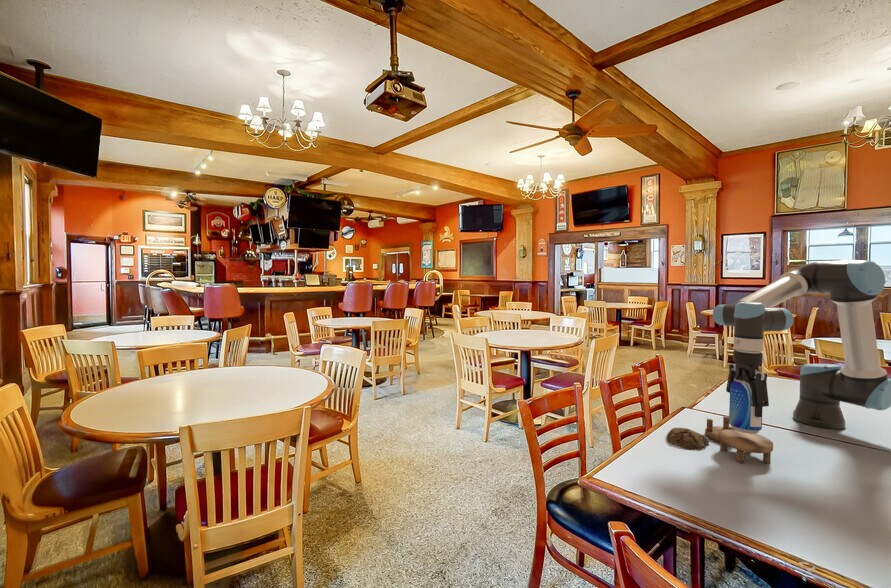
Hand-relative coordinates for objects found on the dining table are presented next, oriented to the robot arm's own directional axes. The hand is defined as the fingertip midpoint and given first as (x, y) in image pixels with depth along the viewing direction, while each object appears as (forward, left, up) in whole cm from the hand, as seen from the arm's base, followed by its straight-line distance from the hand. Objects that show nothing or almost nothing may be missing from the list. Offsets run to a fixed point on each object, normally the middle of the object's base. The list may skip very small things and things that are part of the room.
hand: (745, 421), depth 127 cm
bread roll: (+12, -10, -12) cm, 20 cm away
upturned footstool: (-4, -14, -12) cm, 19 cm away
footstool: (0, 0, -12) cm, 12 cm away
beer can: (0, 0, -3) cm, 3 cm away
